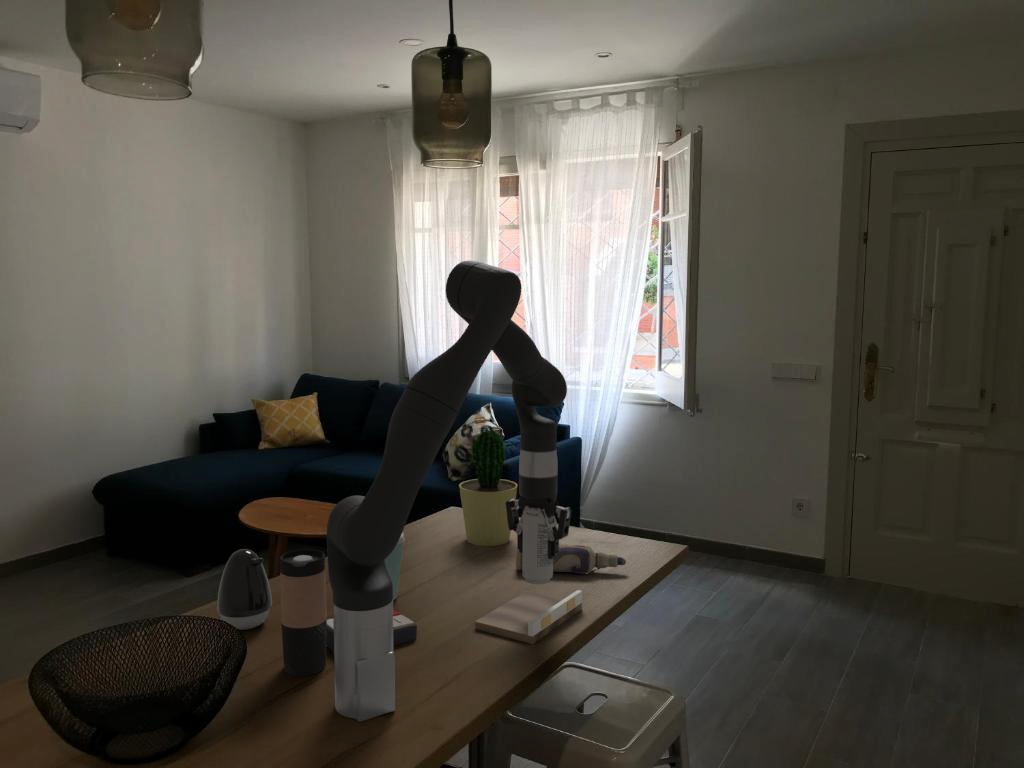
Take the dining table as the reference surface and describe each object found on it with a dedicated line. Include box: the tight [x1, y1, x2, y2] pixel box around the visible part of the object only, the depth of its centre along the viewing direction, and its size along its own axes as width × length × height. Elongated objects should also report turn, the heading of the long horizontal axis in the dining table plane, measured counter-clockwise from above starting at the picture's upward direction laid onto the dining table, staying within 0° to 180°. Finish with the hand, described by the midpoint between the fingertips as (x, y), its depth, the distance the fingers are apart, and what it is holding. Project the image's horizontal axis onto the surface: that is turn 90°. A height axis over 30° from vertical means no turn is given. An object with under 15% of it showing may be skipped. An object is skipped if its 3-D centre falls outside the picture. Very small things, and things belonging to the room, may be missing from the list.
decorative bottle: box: [515, 543, 627, 575], centre depth 192 cm, size 26×8×7 cm, turn 83°
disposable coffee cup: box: [384, 532, 405, 601], centre depth 174 cm, size 11×11×15 cm
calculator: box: [326, 609, 418, 652], centre depth 154 cm, size 11×4×15 cm
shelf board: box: [474, 589, 583, 645], centre depth 164 cm, size 20×13×2 cm, turn 148°
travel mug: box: [279, 548, 328, 677], centre depth 141 cm, size 8×8×20 cm
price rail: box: [528, 589, 583, 637], centre depth 160 cm, size 20×1×2 cm, turn 148°
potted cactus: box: [458, 429, 518, 547], centre depth 215 cm, size 15×15×30 cm
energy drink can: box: [521, 507, 554, 585], centre depth 161 cm, size 6×6×15 cm
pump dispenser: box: [216, 548, 273, 631], centre depth 159 cm, size 10×10×15 cm
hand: (537, 554), depth 161 cm, fingers closed on energy drink can, 6 cm apart
